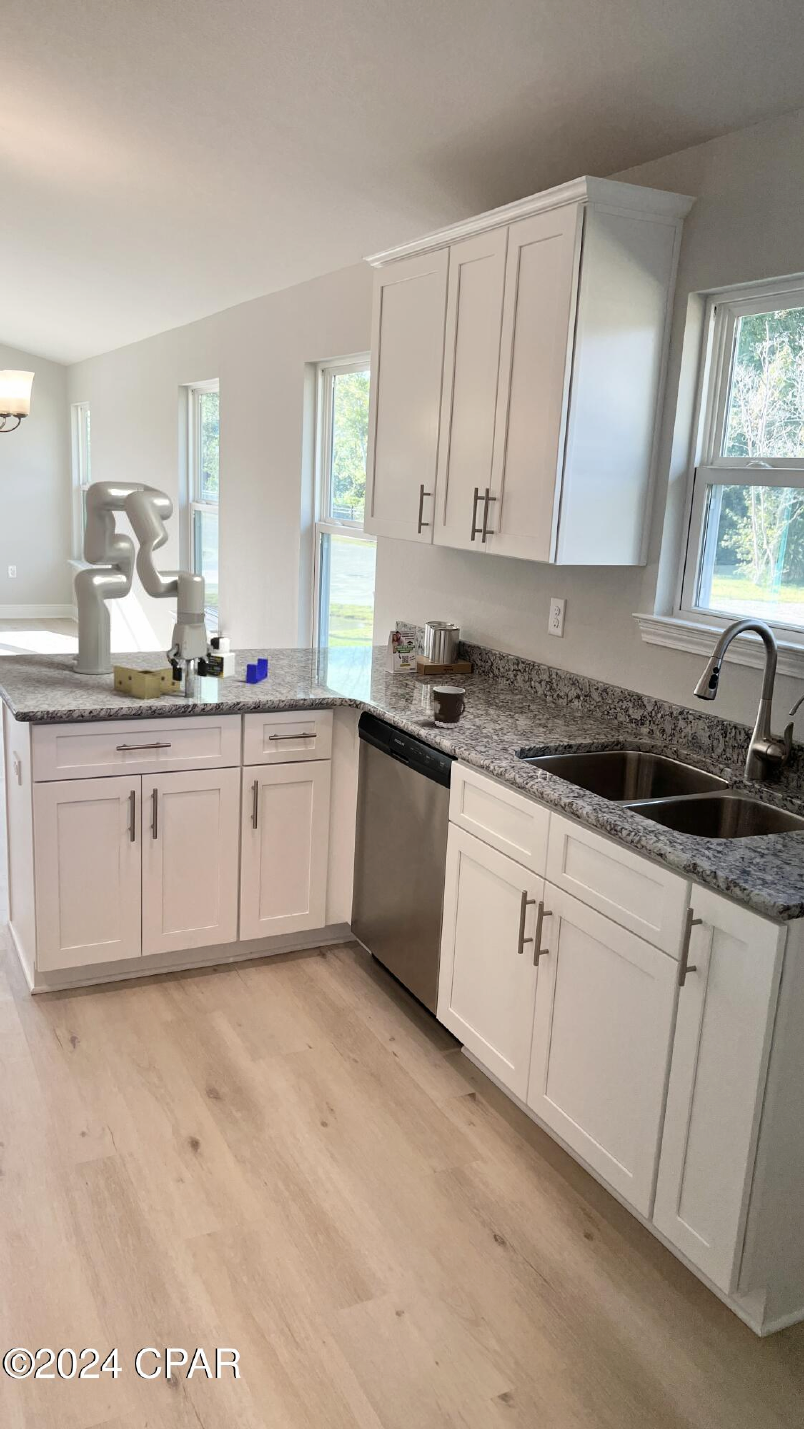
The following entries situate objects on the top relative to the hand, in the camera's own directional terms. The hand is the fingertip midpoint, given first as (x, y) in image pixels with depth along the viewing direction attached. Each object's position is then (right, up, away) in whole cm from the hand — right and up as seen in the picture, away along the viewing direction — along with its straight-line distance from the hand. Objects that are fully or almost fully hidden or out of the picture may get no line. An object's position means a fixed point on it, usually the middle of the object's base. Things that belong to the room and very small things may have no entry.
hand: (189, 678), depth 294 cm
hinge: (-13, -4, +5) cm, 15 cm away
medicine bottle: (+3, +2, +33) cm, 34 cm away
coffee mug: (+72, -14, -15) cm, 75 cm away
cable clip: (+14, 0, +30) cm, 33 cm away
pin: (0, -5, +1) cm, 5 cm away
